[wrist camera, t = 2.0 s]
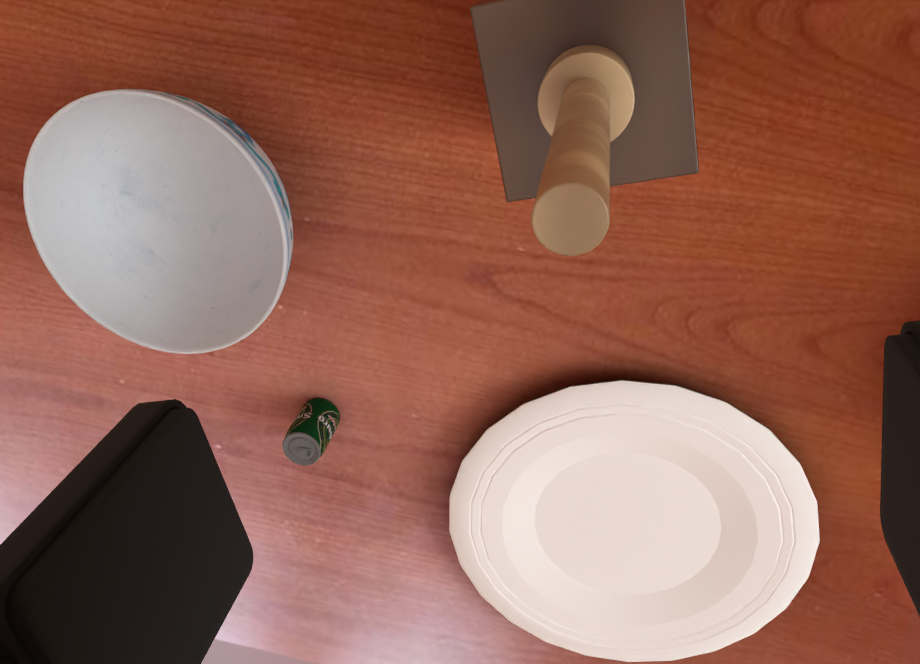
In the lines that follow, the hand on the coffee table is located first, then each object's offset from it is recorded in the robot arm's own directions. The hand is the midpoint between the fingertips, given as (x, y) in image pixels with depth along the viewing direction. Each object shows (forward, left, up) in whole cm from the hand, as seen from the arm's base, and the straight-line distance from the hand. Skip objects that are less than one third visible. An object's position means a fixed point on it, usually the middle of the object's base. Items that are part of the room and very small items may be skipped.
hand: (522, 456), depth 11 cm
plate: (+2, +32, -36) cm, 48 cm away
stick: (0, 0, -24) cm, 24 cm away
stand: (0, 0, -36) cm, 36 cm away
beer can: (+22, +21, -36) cm, 47 cm away
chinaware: (+24, +4, -36) cm, 43 cm away
